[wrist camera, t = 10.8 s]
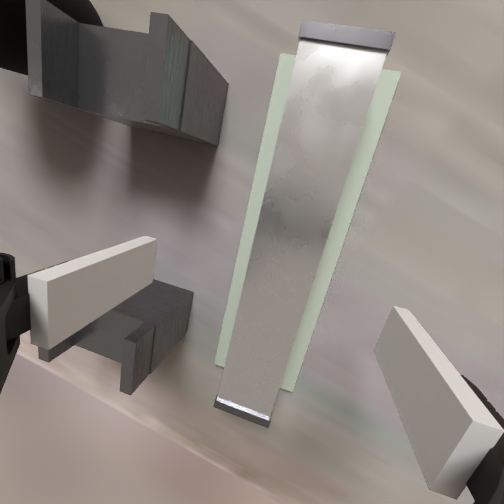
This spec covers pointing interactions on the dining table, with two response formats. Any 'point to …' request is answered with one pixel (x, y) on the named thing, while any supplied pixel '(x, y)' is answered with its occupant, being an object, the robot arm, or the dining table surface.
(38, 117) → the dining table surface
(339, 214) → the mat
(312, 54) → the rail
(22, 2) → the mug
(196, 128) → the post
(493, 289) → the dining table surface
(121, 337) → the post
